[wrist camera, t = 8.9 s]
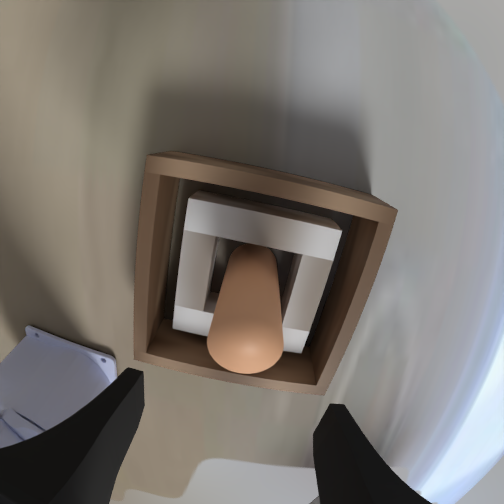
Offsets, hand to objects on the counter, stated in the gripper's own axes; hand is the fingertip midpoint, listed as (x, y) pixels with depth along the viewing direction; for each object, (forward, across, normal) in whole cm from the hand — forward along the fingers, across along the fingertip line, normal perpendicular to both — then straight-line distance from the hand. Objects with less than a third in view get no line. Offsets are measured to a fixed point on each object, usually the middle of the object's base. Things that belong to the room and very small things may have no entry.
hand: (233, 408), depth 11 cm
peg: (+10, 0, -2) cm, 10 cm away
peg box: (+10, 0, -2) cm, 10 cm away
